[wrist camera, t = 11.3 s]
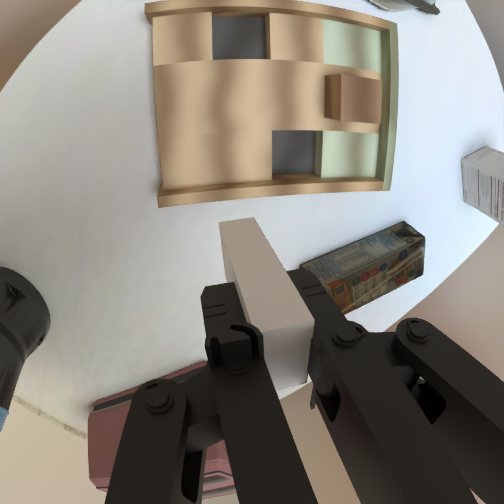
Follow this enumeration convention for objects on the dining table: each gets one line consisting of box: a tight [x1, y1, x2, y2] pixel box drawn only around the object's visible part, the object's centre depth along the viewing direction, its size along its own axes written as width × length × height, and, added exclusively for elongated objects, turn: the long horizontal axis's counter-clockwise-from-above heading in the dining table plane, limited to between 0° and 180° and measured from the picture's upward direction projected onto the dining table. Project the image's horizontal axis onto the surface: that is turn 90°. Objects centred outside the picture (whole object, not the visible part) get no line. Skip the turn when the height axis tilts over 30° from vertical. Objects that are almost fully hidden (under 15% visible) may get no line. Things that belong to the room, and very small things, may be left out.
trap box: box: [145, 0, 399, 208], centre depth 28 cm, size 28×22×4 cm
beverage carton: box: [300, 221, 425, 315], centre depth 42 cm, size 8×19×7 cm, turn 109°
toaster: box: [88, 362, 236, 499], centre depth 45 cm, size 19×34×20 cm, turn 116°
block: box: [324, 74, 382, 124], centre depth 27 cm, size 5×5×4 cm
